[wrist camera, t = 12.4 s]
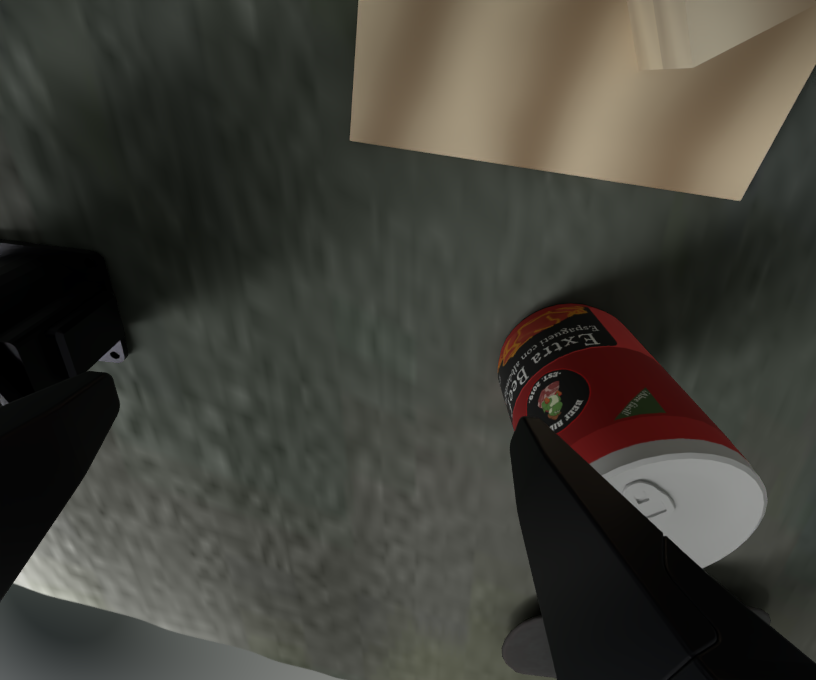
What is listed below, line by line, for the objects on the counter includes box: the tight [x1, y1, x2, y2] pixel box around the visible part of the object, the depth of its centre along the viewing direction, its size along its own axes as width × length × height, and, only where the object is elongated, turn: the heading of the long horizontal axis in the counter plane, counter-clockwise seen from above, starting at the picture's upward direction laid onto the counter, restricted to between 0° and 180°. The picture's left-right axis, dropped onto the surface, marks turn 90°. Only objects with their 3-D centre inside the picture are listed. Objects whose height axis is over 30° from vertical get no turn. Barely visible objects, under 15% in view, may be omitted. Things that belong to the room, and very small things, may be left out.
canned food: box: [498, 303, 768, 568], centre depth 20 cm, size 8×8×11 cm
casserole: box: [502, 606, 771, 678], centre depth 38 cm, size 25×19×8 cm
